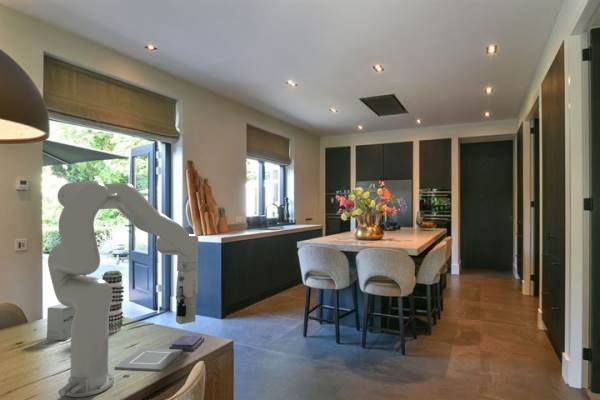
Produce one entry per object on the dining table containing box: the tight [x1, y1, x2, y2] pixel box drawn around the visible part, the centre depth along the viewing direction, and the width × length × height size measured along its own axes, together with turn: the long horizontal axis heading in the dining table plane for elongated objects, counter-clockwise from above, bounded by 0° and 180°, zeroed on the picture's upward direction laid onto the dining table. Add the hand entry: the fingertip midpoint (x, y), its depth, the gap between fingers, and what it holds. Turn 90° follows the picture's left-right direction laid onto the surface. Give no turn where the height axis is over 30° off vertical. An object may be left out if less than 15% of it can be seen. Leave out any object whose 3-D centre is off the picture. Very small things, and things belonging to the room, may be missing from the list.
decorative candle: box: [101, 270, 125, 334], centre depth 155 cm, size 9×9×25 cm
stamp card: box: [114, 347, 184, 372], centre depth 124 cm, size 16×16×1 cm
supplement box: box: [46, 303, 76, 341], centre depth 147 cm, size 7×7×13 cm
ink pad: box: [169, 335, 205, 352], centre depth 137 cm, size 10×9×2 cm
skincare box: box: [175, 290, 197, 325], centre depth 137 cm, size 6×4×12 cm
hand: (185, 313), depth 137 cm, fingers closed on skincare box, 7 cm apart
